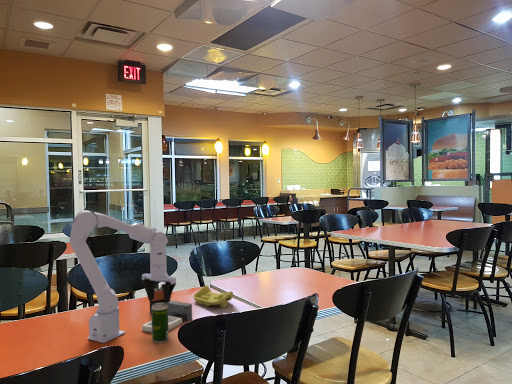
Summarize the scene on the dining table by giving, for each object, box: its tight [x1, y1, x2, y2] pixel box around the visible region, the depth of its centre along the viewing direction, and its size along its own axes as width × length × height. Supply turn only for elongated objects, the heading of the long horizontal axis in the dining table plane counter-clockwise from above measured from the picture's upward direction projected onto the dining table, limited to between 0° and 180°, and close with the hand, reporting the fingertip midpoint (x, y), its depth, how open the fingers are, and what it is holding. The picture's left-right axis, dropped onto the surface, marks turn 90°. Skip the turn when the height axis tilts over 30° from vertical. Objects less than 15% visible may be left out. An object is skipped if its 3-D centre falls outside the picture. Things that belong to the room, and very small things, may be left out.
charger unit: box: [167, 299, 193, 323], centre depth 149 cm, size 3×10×6 cm, turn 63°
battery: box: [149, 286, 165, 314], centre depth 156 cm, size 4×7×10 cm, turn 126°
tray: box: [141, 316, 183, 334], centre depth 140 cm, size 12×9×2 cm
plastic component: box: [192, 285, 234, 309], centre depth 165 cm, size 20×7×10 cm
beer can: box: [151, 302, 170, 344], centre depth 128 cm, size 5×5×12 cm
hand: (159, 301), depth 141 cm, fingers open, 7 cm apart
